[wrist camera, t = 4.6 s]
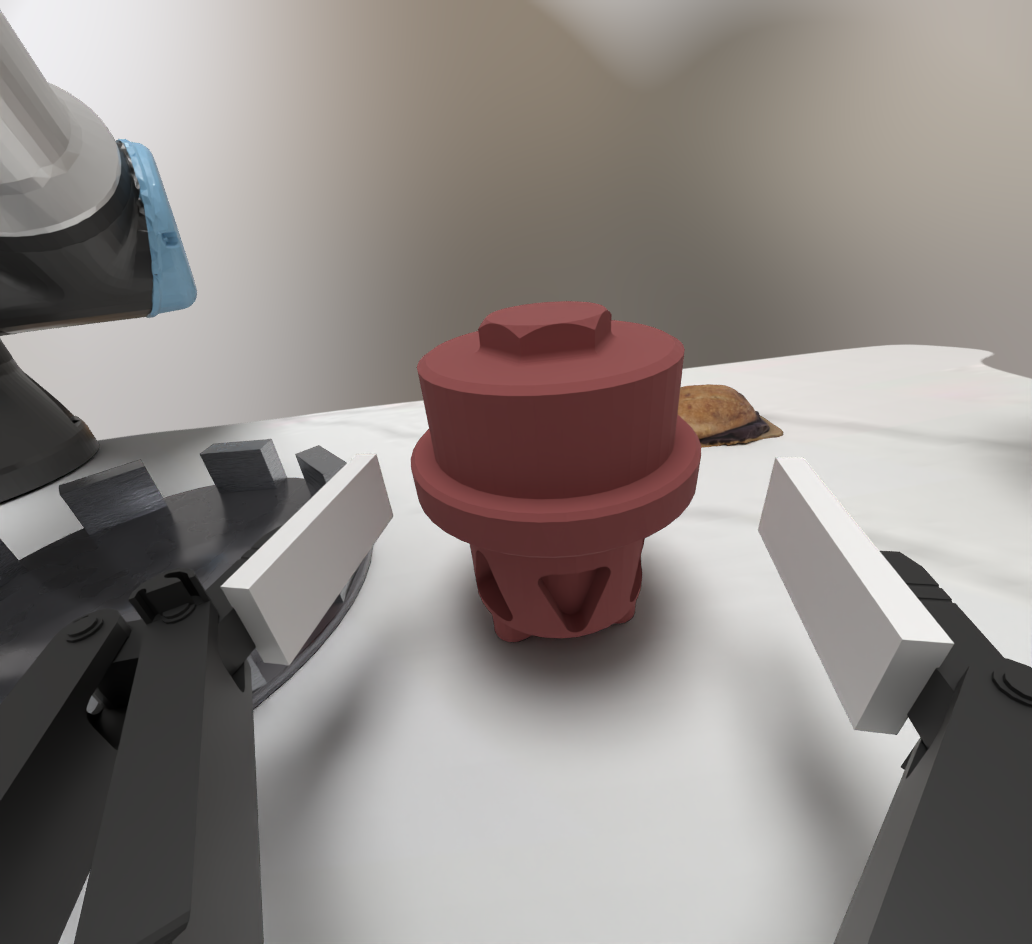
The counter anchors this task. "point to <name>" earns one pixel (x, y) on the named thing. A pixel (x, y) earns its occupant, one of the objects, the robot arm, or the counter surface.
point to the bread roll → (722, 416)
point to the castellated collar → (159, 549)
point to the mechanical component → (555, 460)
